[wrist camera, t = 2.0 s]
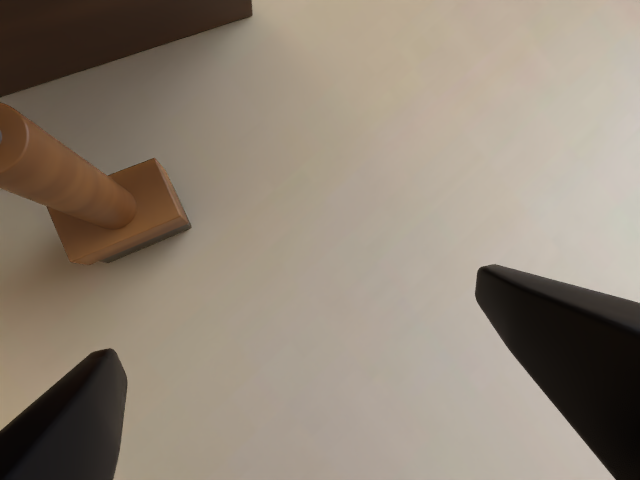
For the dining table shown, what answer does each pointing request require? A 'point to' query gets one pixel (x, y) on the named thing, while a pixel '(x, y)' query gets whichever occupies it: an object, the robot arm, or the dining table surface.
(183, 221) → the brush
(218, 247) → the dining table surface
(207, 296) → the dining table surface
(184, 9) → the wall shelf
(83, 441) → the robot arm
